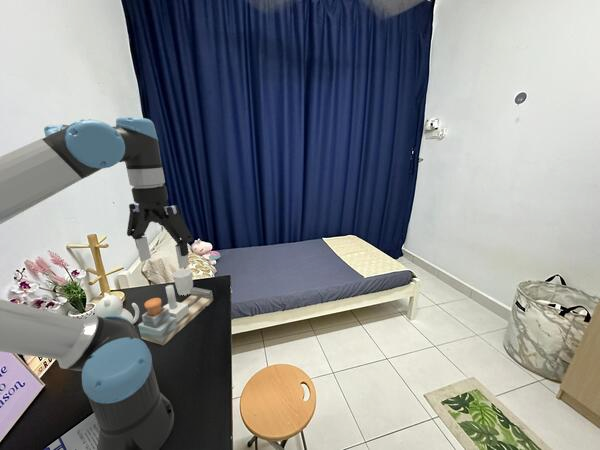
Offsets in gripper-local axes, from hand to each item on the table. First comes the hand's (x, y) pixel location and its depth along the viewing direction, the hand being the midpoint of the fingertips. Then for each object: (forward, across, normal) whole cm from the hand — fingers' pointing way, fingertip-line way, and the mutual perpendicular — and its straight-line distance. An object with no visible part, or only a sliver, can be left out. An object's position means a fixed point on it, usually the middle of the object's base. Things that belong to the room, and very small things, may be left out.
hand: (164, 262), depth 68 cm
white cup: (+35, +29, -32) cm, 56 cm away
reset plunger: (+28, +17, -6) cm, 33 cm away
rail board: (+35, +17, -16) cm, 42 cm away
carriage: (+32, +17, -14) cm, 39 cm away
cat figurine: (+35, +34, -5) cm, 49 cm away
